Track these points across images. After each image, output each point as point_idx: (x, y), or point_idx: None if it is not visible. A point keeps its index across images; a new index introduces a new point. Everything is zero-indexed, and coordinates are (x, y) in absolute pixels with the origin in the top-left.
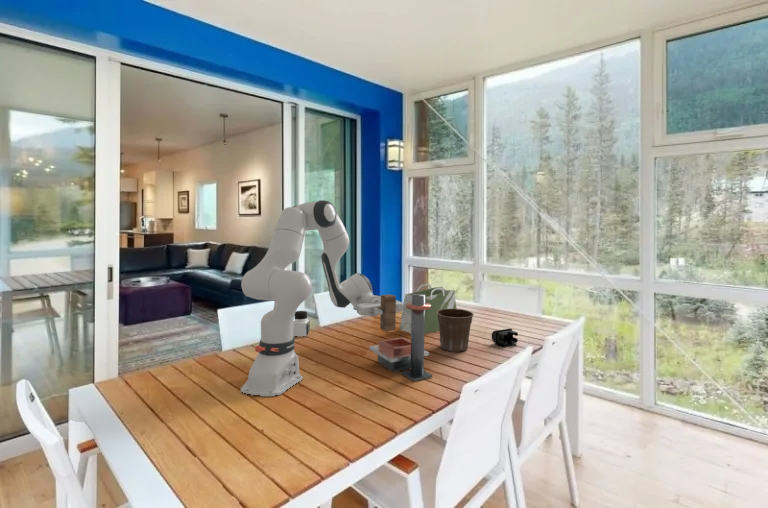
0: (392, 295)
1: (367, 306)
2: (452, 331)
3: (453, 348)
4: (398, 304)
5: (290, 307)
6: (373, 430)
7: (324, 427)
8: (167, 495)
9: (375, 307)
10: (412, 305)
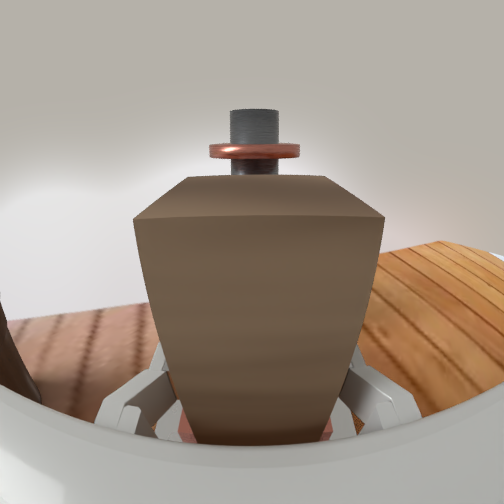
0: (194, 186)
1: (496, 399)
2: (13, 345)
3: (35, 387)
4: (27, 398)
5: None
6: (387, 261)
7: (436, 275)
8: (496, 255)
9: (399, 428)
10: (283, 143)
